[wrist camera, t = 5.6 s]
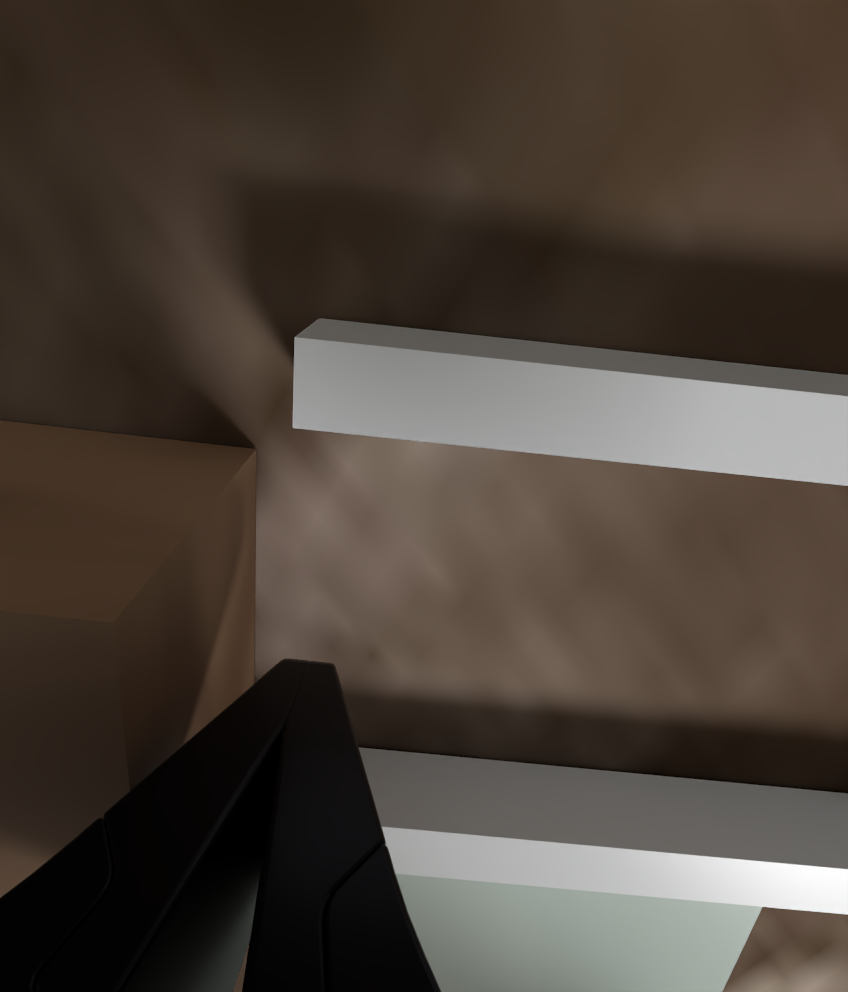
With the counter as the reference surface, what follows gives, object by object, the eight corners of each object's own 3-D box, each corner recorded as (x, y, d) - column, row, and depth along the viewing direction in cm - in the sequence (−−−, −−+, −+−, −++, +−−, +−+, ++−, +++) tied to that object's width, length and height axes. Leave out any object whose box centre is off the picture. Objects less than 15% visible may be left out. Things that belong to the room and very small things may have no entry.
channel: (946, 844, 14) (1015, 929, 12) (302, 784, 13) (283, 863, 12) (1209, 413, 10) (1363, 451, 8) (319, 318, 10) (295, 336, 8)
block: (255, 688, 12) (145, 958, 8) (-2, 661, 12) (-264, 920, 8) (255, 449, 10) (113, 622, 6) (-48, 415, 10) (-437, 564, 6)
